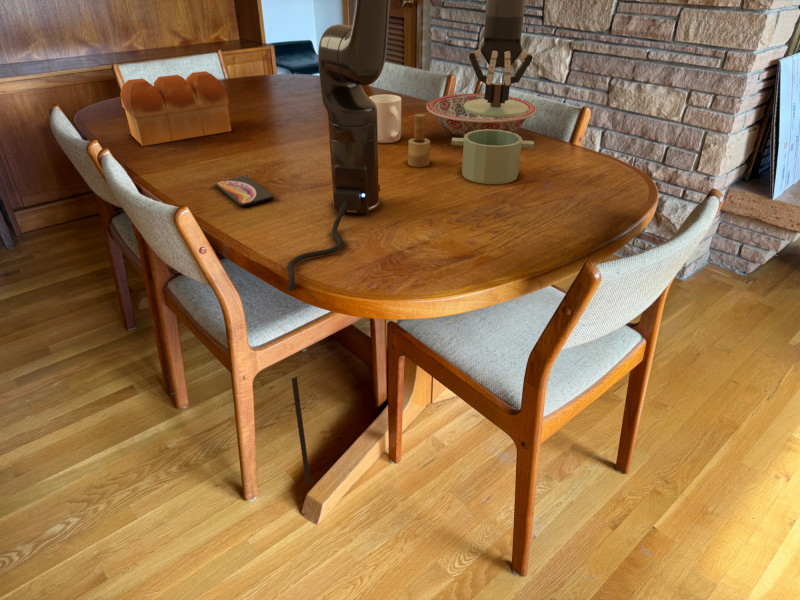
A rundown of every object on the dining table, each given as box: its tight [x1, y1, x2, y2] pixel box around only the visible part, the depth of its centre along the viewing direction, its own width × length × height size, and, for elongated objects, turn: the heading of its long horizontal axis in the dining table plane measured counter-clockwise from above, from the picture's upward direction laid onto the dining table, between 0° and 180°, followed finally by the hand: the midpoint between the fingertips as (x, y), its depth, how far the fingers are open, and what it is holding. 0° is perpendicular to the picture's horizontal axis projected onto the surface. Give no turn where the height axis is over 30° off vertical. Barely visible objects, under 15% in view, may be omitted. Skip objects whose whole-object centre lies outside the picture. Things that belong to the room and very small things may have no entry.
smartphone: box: [215, 175, 274, 208], centre depth 121 cm, size 8×1×15 cm
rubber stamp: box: [407, 113, 431, 168], centre depth 134 cm, size 5×5×12 cm
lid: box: [464, 82, 528, 118], centre depth 122 cm, size 14×14×6 cm
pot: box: [451, 129, 535, 185], centre depth 129 cm, size 13×18×8 cm
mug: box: [368, 94, 402, 144], centre depth 150 cm, size 9×12×11 cm
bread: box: [119, 71, 232, 147], centre depth 154 cm, size 25×12×15 cm, turn 125°
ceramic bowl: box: [426, 93, 537, 138], centre depth 155 cm, size 29×29×8 cm
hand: (496, 102), depth 123 cm, fingers closed on lid, 2 cm apart
